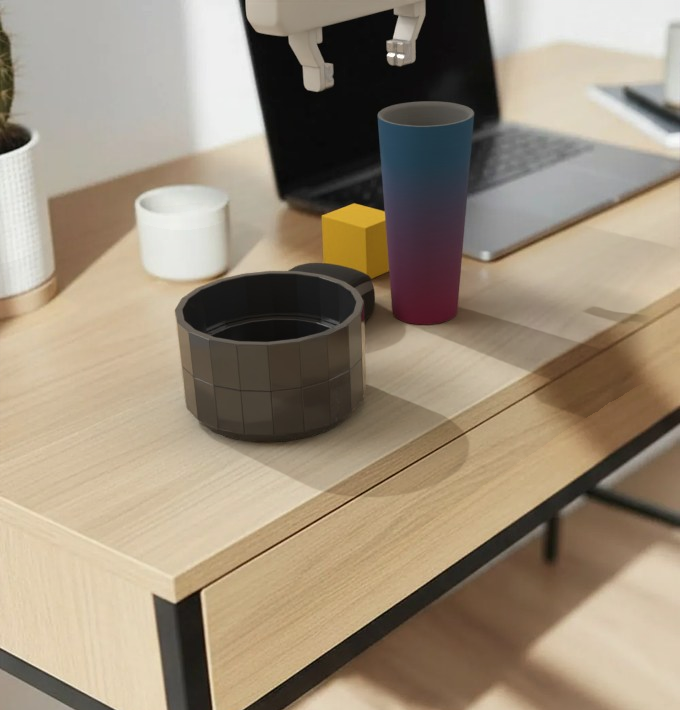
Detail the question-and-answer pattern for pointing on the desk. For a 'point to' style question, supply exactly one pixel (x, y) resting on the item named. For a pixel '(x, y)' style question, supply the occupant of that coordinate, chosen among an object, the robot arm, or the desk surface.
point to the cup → (425, 205)
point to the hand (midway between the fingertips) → (361, 76)
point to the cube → (356, 239)
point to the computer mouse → (345, 280)
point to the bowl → (272, 354)
